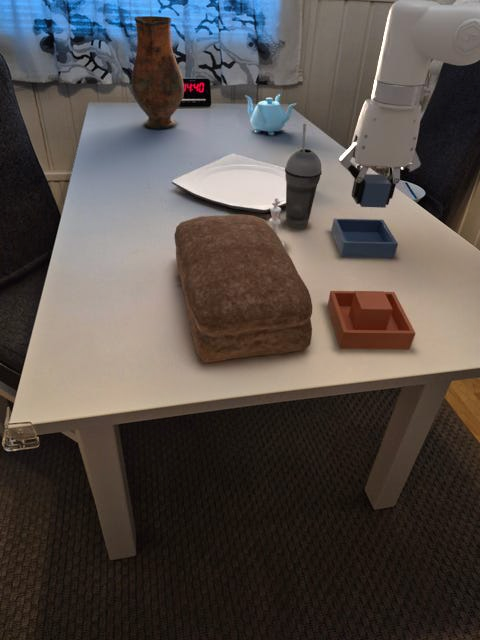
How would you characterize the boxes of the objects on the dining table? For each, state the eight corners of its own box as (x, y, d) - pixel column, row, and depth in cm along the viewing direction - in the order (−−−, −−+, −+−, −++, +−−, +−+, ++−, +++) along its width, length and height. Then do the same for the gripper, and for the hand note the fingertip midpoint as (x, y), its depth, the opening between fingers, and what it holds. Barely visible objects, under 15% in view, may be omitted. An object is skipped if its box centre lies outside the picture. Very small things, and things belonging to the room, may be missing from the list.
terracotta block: (377, 314, 69) (384, 291, 67) (385, 333, 66) (392, 309, 63) (348, 314, 69) (354, 290, 66) (355, 333, 66) (361, 308, 63)
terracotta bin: (389, 307, 72) (394, 291, 70) (409, 349, 64) (415, 333, 62) (327, 306, 72) (330, 290, 70) (339, 348, 64) (343, 332, 62)
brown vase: (130, 130, 143) (117, 18, 124) (143, 113, 160) (134, 12, 141) (181, 133, 143) (177, 21, 124) (189, 115, 160) (186, 15, 141)
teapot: (243, 126, 151) (244, 94, 145) (279, 124, 155) (281, 92, 149) (256, 137, 142) (257, 103, 136) (294, 135, 145) (297, 101, 139)
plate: (324, 185, 112) (325, 175, 111) (266, 226, 93) (267, 214, 92) (231, 160, 124) (231, 151, 122) (162, 192, 105) (162, 181, 103)
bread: (262, 251, 85) (266, 194, 78) (315, 355, 62) (328, 288, 55) (172, 258, 81) (168, 199, 74) (194, 371, 59) (192, 301, 52)
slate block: (378, 197, 85) (384, 174, 82) (385, 207, 81) (391, 183, 78) (355, 197, 85) (360, 173, 82) (361, 207, 81) (366, 183, 78)
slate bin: (379, 233, 93) (383, 219, 91) (394, 258, 85) (398, 243, 83) (331, 232, 92) (333, 218, 90) (341, 257, 84) (344, 242, 82)
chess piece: (254, 247, 86) (257, 197, 80) (271, 239, 89) (275, 190, 83) (273, 256, 83) (278, 206, 77) (290, 248, 86) (295, 199, 80)
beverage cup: (295, 236, 90) (307, 133, 78) (272, 222, 95) (281, 123, 82) (320, 227, 94) (337, 127, 81) (297, 214, 98) (309, 118, 86)
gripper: (438, 91, 75) (408, 194, 86) (339, 86, 74) (322, 192, 85) (456, 101, 69) (421, 211, 80) (349, 97, 68) (329, 208, 80)
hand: (370, 200), depth 83 cm, fingers closed on slate block, 4 cm apart
